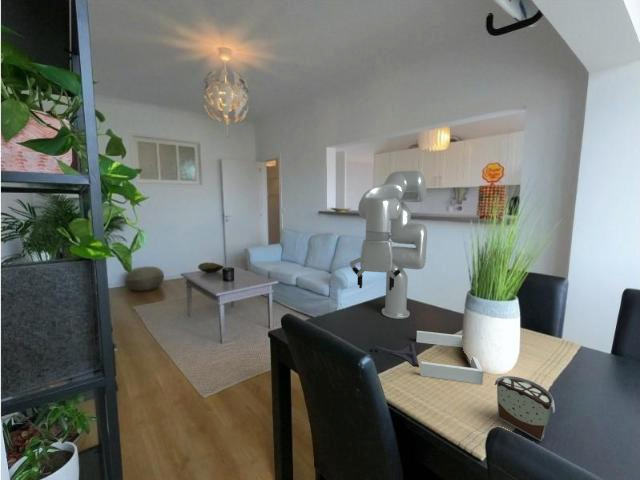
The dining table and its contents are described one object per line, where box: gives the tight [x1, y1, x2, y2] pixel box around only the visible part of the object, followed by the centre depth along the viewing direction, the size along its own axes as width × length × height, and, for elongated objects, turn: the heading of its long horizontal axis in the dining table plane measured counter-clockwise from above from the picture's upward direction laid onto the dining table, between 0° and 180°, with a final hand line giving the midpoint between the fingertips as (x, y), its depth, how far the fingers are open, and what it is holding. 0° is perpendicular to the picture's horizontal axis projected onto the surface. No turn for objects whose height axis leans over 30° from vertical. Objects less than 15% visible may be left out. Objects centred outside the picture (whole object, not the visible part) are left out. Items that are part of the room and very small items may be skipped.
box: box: [416, 330, 484, 385], centre depth 102 cm, size 23×17×4 cm
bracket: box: [371, 342, 420, 368], centre depth 106 cm, size 14×15×3 cm
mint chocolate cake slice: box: [494, 375, 556, 443], centre depth 73 cm, size 12×6×10 cm, turn 35°
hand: (375, 288), depth 100 cm, fingers open, 9 cm apart
